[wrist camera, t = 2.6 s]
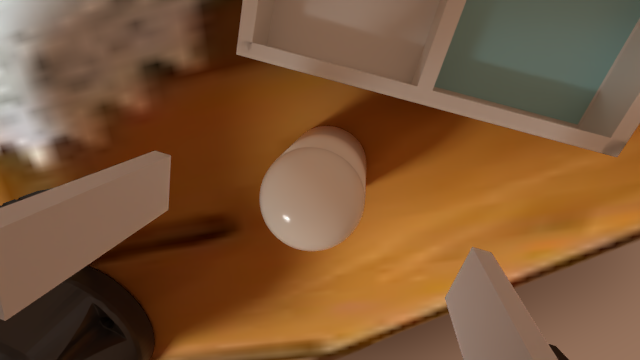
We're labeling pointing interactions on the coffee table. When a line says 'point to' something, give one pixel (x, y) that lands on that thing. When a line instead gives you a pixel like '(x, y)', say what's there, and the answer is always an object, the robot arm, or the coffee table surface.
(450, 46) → the divided tray
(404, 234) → the coffee table surface
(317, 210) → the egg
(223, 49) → the coffee table surface
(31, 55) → the coffee table surface
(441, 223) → the coffee table surface
